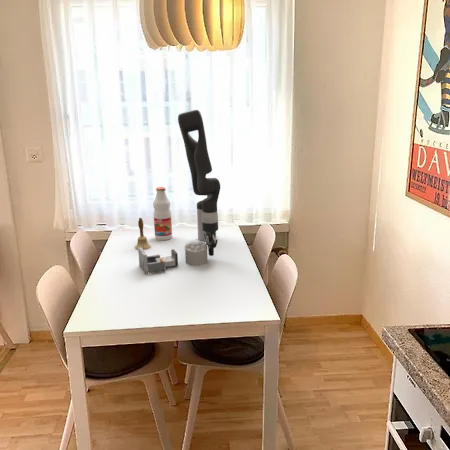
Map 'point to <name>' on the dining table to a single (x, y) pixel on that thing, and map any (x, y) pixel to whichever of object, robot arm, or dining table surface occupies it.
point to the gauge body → (150, 263)
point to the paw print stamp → (196, 253)
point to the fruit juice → (162, 215)
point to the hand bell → (142, 237)
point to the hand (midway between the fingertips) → (211, 255)
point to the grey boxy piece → (169, 259)
